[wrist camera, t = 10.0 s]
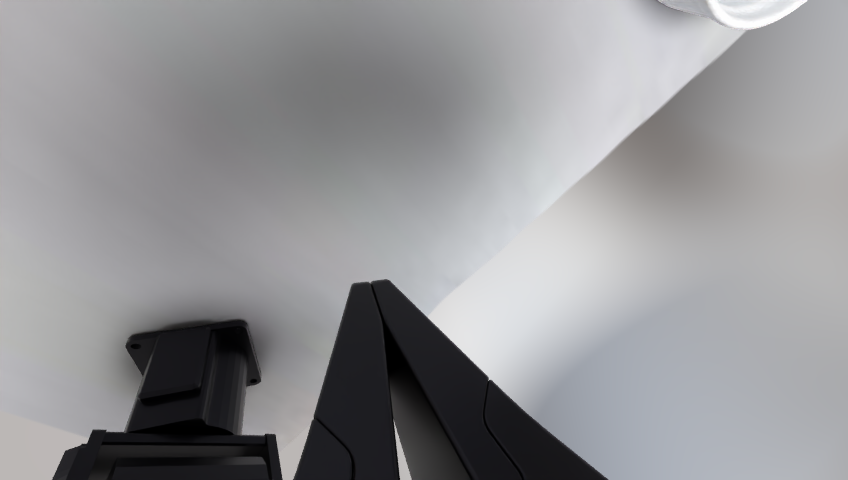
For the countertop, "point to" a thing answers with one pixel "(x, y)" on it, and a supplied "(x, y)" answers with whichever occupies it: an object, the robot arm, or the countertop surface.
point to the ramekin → (737, 11)
